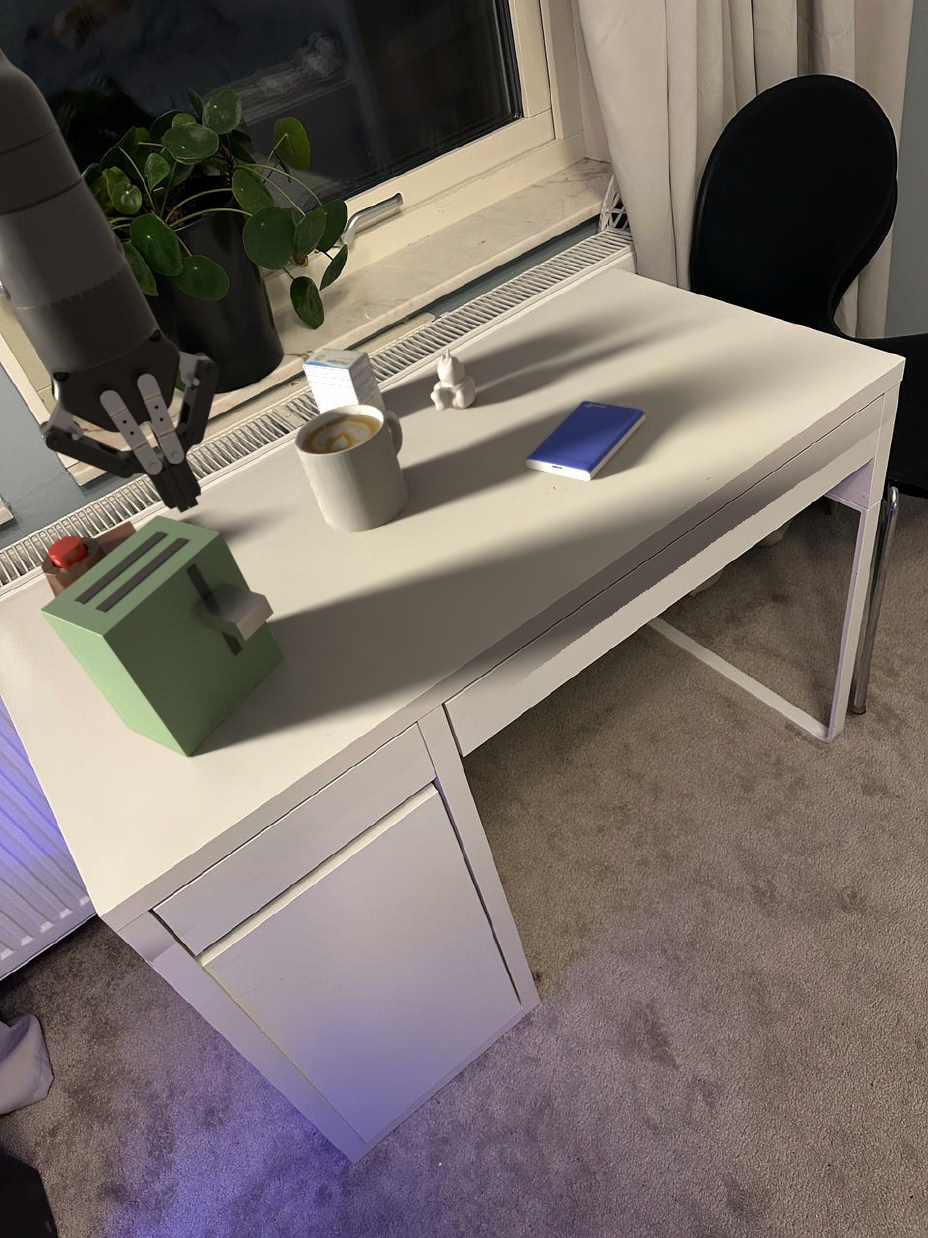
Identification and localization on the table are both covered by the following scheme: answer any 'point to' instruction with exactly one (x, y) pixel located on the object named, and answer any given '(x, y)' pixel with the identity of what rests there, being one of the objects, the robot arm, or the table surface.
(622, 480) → the table surface
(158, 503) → the table surface
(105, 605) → the toaster
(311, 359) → the medicine box
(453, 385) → the white seated figurine
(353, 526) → the coffee mug
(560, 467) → the hard drive
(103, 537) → the switch block
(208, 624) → the toaster lever
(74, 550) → the power button
